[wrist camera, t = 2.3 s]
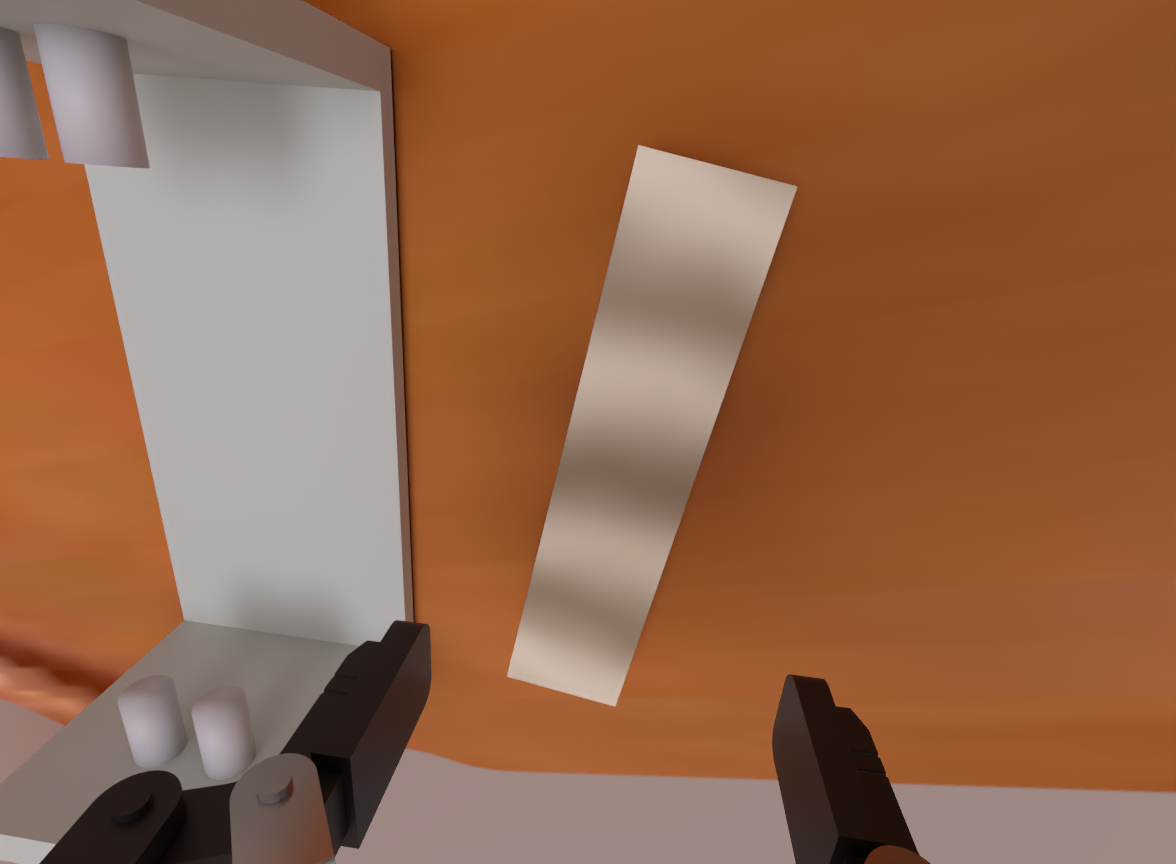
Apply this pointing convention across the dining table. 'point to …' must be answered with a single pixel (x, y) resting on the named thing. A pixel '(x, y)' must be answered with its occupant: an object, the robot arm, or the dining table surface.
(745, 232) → the shelf board
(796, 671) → the dining table surface
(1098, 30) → the dining table surface
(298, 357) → the grey c-shaped frame
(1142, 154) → the dining table surface
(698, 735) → the dining table surface
